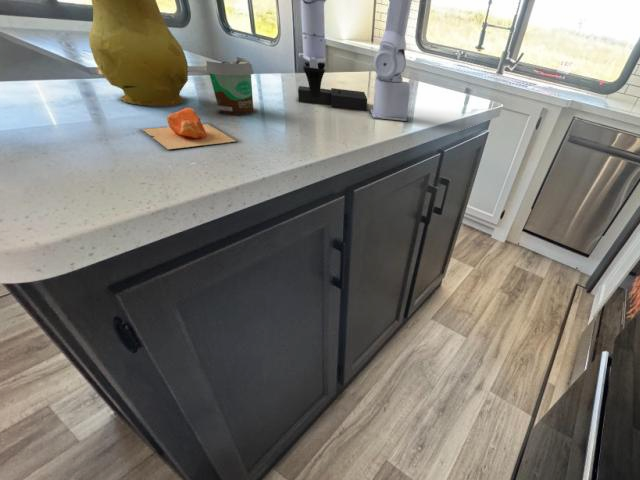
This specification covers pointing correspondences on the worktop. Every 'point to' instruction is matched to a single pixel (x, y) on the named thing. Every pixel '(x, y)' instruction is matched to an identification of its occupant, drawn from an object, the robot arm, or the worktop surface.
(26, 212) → the worktop surface
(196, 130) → the rock
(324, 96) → the black pad
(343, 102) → the graphite pad
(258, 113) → the worktop surface
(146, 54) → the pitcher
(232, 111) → the food container
